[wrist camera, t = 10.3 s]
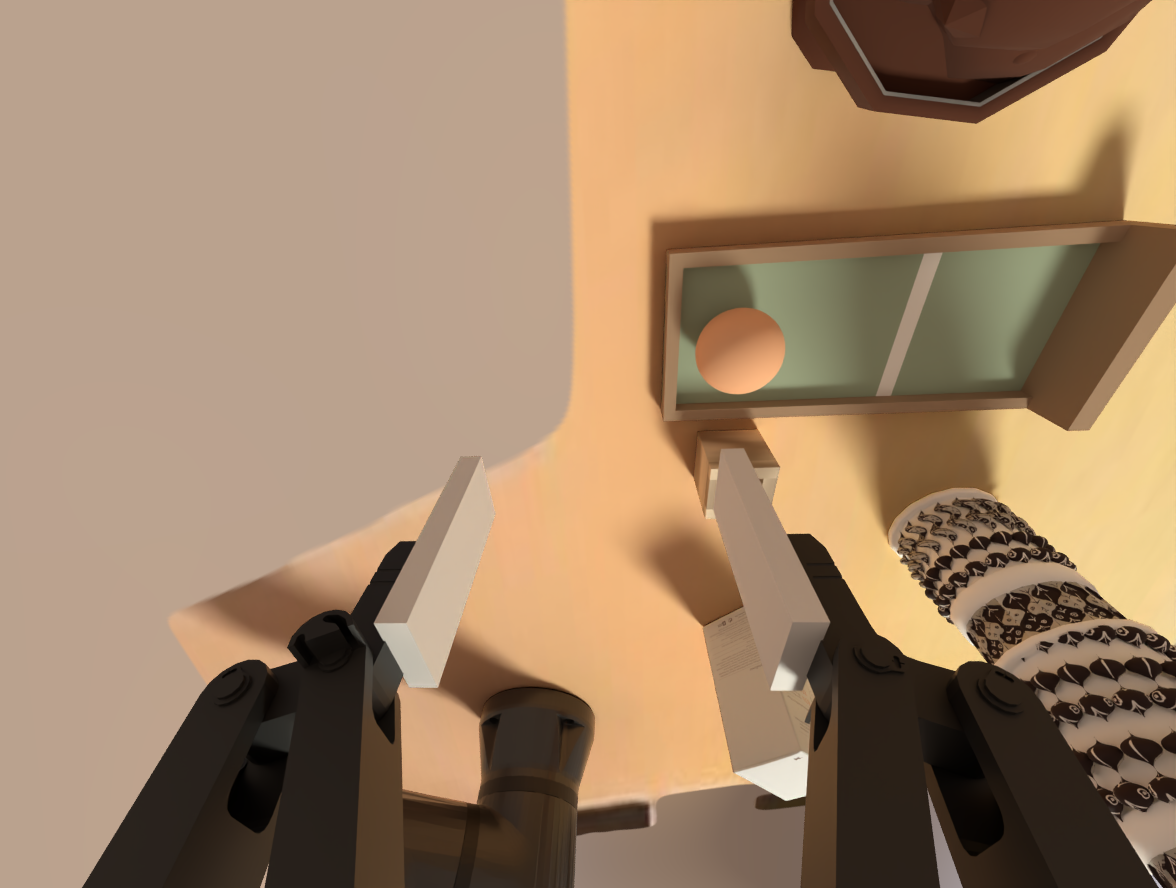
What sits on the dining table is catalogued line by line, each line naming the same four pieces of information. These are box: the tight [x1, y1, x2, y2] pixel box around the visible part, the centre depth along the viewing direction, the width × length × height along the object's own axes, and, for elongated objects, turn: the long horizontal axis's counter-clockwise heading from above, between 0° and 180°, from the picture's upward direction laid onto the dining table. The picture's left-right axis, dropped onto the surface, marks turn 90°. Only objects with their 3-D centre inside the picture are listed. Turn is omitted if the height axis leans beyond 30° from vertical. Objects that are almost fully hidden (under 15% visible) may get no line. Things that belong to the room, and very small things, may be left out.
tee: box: [694, 429, 780, 519], centre depth 30 cm, size 4×4×5 cm
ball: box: [695, 308, 785, 394], centre depth 25 cm, size 5×5×5 cm
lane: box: [661, 220, 1176, 431], centre depth 25 cm, size 25×11×4 cm, turn 94°
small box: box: [703, 607, 815, 801], centre depth 39 cm, size 8×6×13 cm
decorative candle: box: [888, 488, 1176, 888], centre depth 25 cm, size 9×9×25 cm
